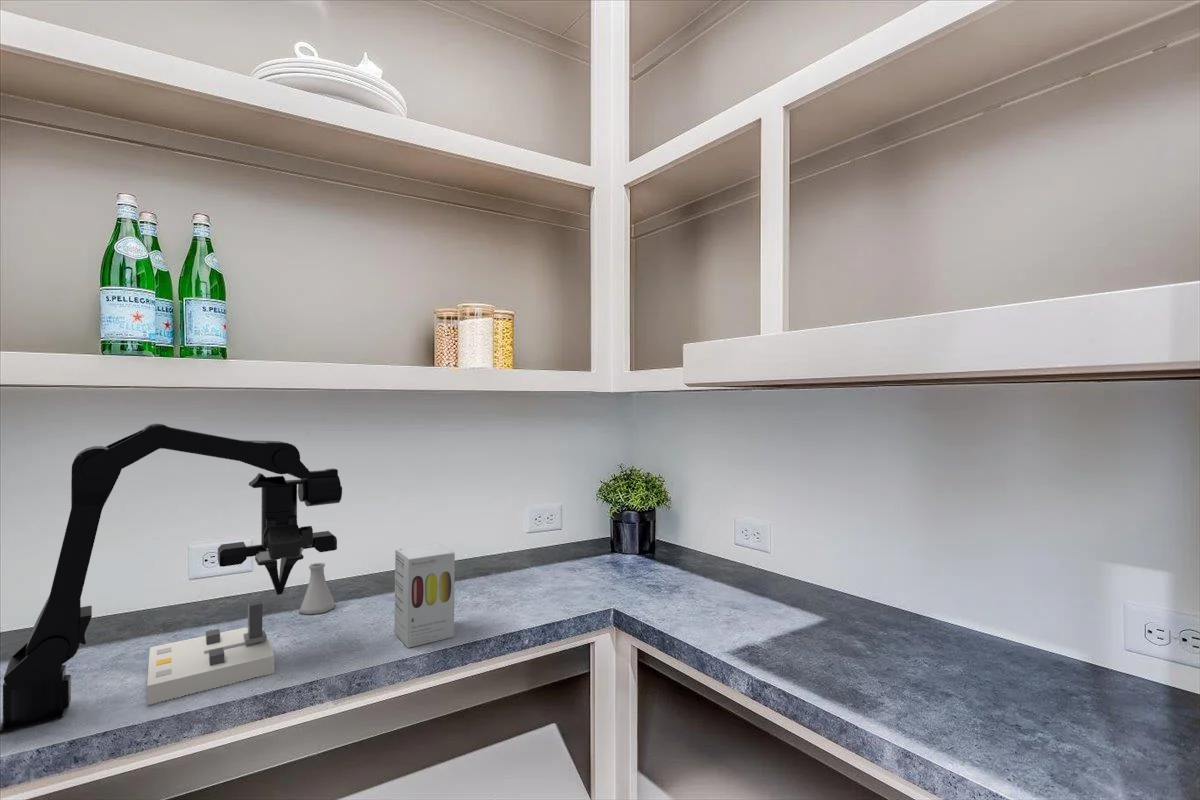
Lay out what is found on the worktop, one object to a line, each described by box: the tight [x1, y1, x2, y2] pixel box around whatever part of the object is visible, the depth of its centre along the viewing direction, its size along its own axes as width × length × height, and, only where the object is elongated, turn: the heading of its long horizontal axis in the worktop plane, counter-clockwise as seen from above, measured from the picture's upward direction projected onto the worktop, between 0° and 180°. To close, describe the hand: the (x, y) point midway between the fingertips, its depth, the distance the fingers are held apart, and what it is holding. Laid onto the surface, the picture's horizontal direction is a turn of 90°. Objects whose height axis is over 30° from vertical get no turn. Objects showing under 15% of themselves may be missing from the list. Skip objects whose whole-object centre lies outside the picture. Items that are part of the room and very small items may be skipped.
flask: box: [298, 562, 336, 615], centre depth 126 cm, size 7×7×10 cm
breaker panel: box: [146, 626, 275, 706], centre depth 98 cm, size 17×17×4 cm
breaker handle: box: [244, 599, 268, 645], centre depth 102 cm, size 3×4×7 cm
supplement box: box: [393, 542, 456, 649], centre depth 113 cm, size 10×9×17 cm
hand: (279, 594), depth 105 cm, fingers closed
